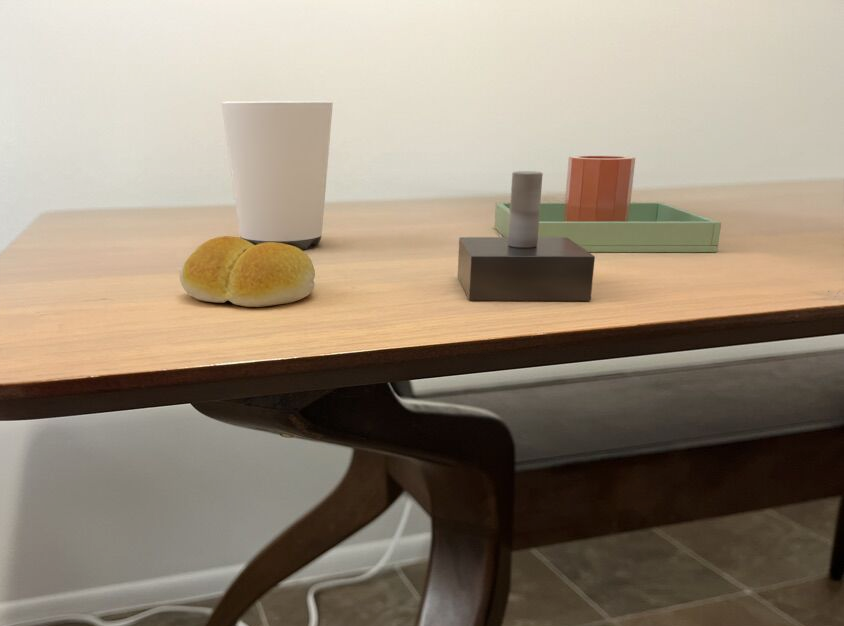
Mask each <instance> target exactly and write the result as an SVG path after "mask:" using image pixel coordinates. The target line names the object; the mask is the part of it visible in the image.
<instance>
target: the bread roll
mask: <svg viewBox="0 0 844 626" xmlns="http://www.w3.org/2000/svg"><path fill="white" fill-rule="evenodd" d="M315 277H316V270H315V267H314V264H313V261H312V259H311V258H310V256H309V255H308V254H307V253H306V252H305V251H304V250H301V249H299V248H297V247H295V246H292V245H289V244H288V243H276V242H265V243H261V244H257V245H253V244H252V243H250V242H248V241H246V240H244V239H242V238H240V236H231V235H223V236H218V237H214V238H211V239H209V240H207V241H205V242H204V243H202V244H201V245H199V246H198V247H197V248H196V249H195V250H194V251H193V252H191V254H190V255H189V257H188V258H187V259H186V260H185V261H184V263H183V264H182V265H181V266H180V269H179V281H180V285H181V287H182V288H183V290H184V292H186V293H187V294H188V296H190V297H191V298H194V299H195V300H198V301H202V302H209V303H215V304H216V303H218V304H219V303H221V304H223V303H226V302H227V301H228V302H230V303H232V304H233V305H237V306H241V307H245V308H247V307H248V308H259V307H260V308H261V307H270V306H277V305H284V304H292V303H294V302H297V301H301V300H302V299H304V298H306V297H308V296H309V295H310V294H311V293H312V291H314V288H315V282H314V281H315Z"/></svg>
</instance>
